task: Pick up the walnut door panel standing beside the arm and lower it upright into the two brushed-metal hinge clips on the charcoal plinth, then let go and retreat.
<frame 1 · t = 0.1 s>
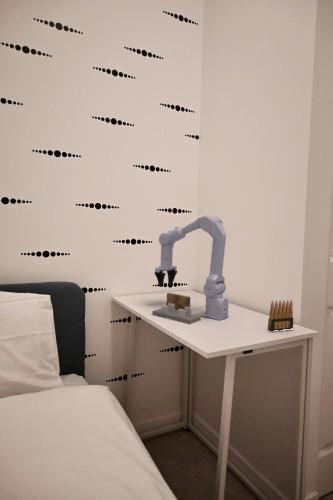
hand: (165, 285, 156), 10 cm above the table, fingers open, 7 cm apart
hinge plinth: (175, 317, 136), on the table
door panel: (177, 309, 149), on the table
ammunition clip: (280, 331, 122), on the table
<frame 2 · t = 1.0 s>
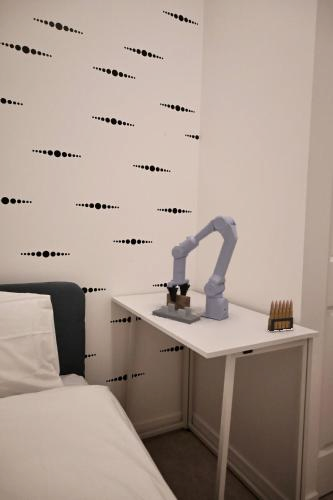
hand: (178, 300, 149), 4 cm above the table, fingers open, 7 cm apart
nothing on the table moved.
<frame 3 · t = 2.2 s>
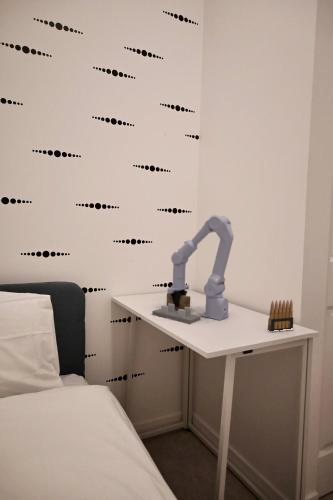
hand: (178, 306, 149), 2 cm above the table, fingers closed on door panel, 2 cm apart
door panel: (177, 309, 149), on the table, touching gripper
everything else where it was.
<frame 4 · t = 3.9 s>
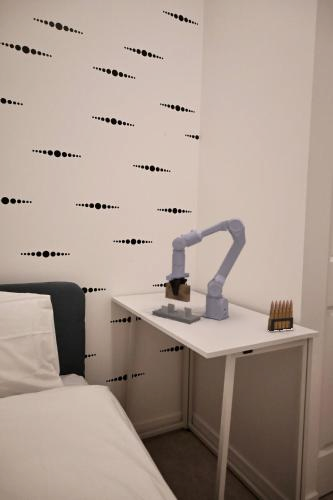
hand: (177, 294, 141), 9 cm above the table, fingers closed on door panel, 2 cm apart
door panel: (177, 299, 141), point 6 cm above the table, touching gripper
everything else where it was.
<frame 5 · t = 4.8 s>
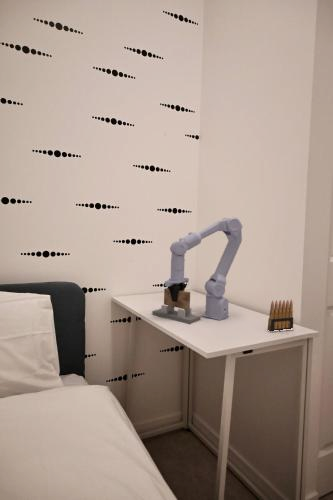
hand: (176, 300, 136), 7 cm above the table, fingers closed on door panel, 2 cm apart
door panel: (176, 306, 136), point 5 cm above the table, touching gripper
everything else where it was.
when the fingers open (4 cm above the table, at t = 5.6 s): door panel stays where it is, resting on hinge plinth.
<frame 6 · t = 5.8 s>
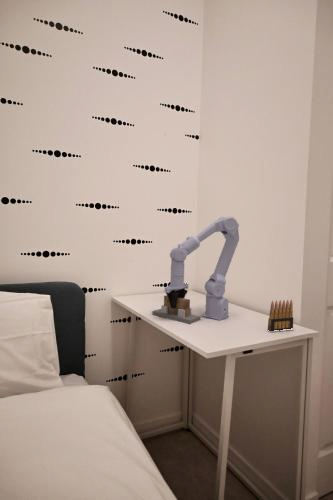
hand: (176, 307, 136), 4 cm above the table, fingers open, 4 cm apart
door panel: (176, 313, 136), point 1 cm above the table, touching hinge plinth
everything else where it was.
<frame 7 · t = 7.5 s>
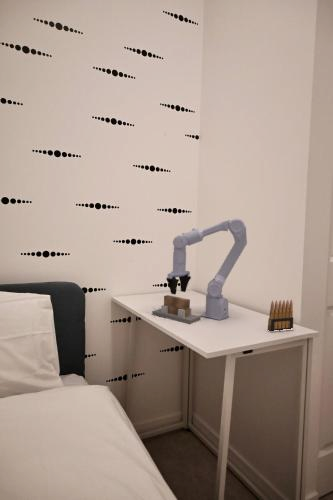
hand: (178, 292, 142), 9 cm above the table, fingers open, 7 cm apart
nothing on the table moved.
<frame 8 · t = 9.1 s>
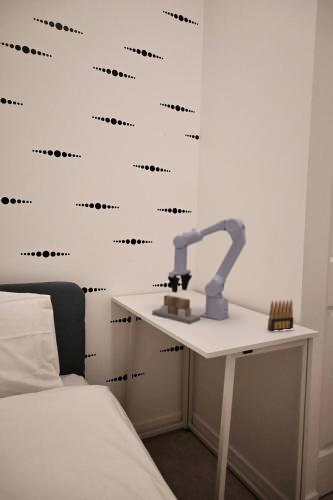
hand: (179, 291, 146), 9 cm above the table, fingers open, 7 cm apart
nothing on the table moved.
at the end: door panel 0.1 cm off-centre on the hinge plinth, point 1.5 cm above the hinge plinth's base; door panel tilted 0°; the gripper is holding nothing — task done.
